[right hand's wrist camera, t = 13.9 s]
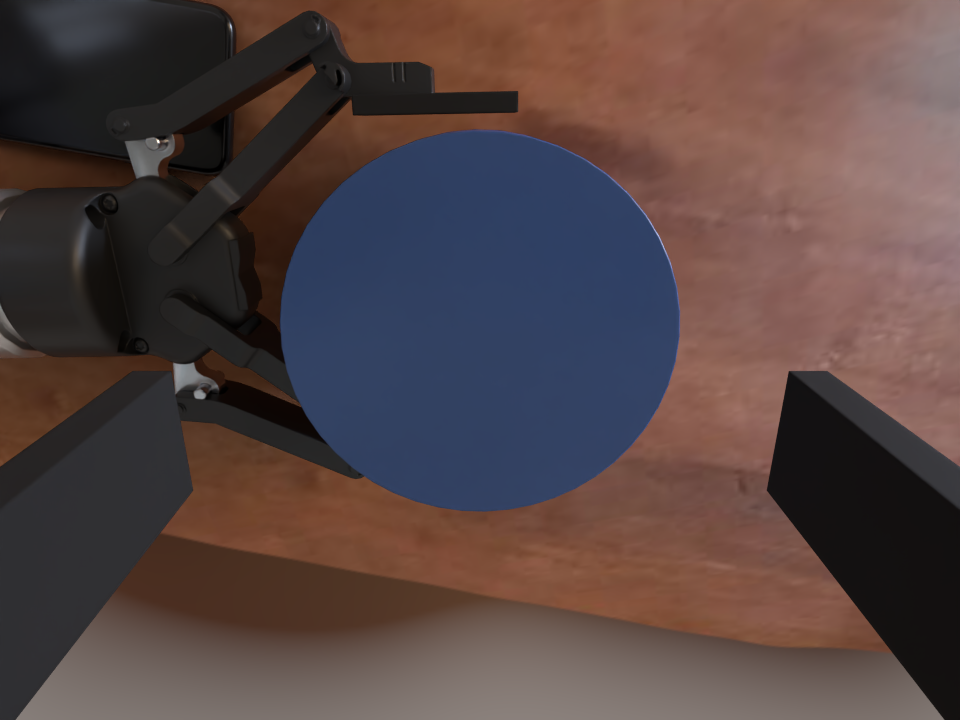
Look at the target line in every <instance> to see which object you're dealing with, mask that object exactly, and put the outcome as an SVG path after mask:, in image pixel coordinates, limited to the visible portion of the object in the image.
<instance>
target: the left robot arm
mask: <svg viewBox="0 0 960 720" xmlns="http://www.w3.org/2000/svg"><path fill="white" fill-rule="evenodd" d="M312 63H313V65H314V67H315V70H316V72H317V73H316V74H315V75H314V76H313V77H312V78H311V79H310V80H309V81H308V82H307V83H306V84H305V85H304V86H303V88H302V89H301V90H300V91H299V92H298V93H297V94H296V95H295V96H294V97H293V98H292V99H291V100H290V101H289V102H288V103H287V104H286V105H285V106H284V107H283V108H282V110H281V111H280V112H279V113H278V114H277V115H276V116H275V117H274V118H273V119H272V120H271V121H270V122H269V123H268V124H267V125H266V126H265V127H264V128H263V129H262V130H261V132H260V133H259V134H258V135H257V136H256V137H255V138H254V139H253V140H252V141H251V142H250V143H249V144H248V145H247V146H246V147H245V148H244V149H243V150H242V151H241V152H240V154H239V155H238V156H237V157H236V158H235V159H234V160H233V161H232V162H231V163H230V164H229V165H228V166H227V167H226V168H225V169H224V170H223V171H222V172H221V173H220V174H219V175H218V176H217V177H216V178H214V179H213V180H211V181H210V182H209V183H207V184H206V185H205V186H204V187H203V188H202V189H201V190H200V191H199V192H198V191H197V190H195V189H194V188H192V187H191V186H189V185H188V184H186V183H184V182H183V181H181V180H180V179H178V178H177V177H175V176H172V175H169V174H168V163H169V161H170V160H171V159H172V158H173V157H175V156H177V155H179V154H180V153H181V152H182V151H183V149H184V138H183V135H187V134H191V133H194V132H197V131H200V130H202V129H204V128H206V127H208V126H210V125H211V124H213V123H215V122H216V121H218V120H220V119H221V118H223V117H224V116H226V115H228V114H229V113H231V112H233V111H234V110H236V109H238V108H239V107H241V106H243V105H244V104H246V103H248V102H249V101H251V100H253V99H254V98H256V97H258V96H259V95H261V94H263V93H264V92H266V91H268V90H269V89H271V88H272V87H274V86H276V85H277V84H279V83H281V82H282V81H284V80H286V79H287V78H289V77H291V76H292V75H294V74H296V73H297V72H299V71H301V70H302V69H304V68H306V67H307V66H309V65H311V64H312ZM351 99H352V109H353V115H363V116H368V115H419V114H469V113H515V112H518V91H502V92H452V93H435V83H434V69H433V68H432V67H430V66H427V65H425V64H422V63H420V62H395V63H355V62H353V61H352V60H351V59H350V58H349V56H348V54H347V53H346V50H345V48H344V45H343V43H342V41H341V38H340V32H339V29H338V28H337V26H336V25H335V24H334V23H333V22H331V21H330V20H328V19H327V18H325V17H324V16H322V15H320V14H319V13H317V12H315V11H306V12H303V13H302V14H300V15H298V16H297V17H295V18H294V19H292V20H290V21H289V22H287V23H285V24H284V25H282V26H281V27H279V28H277V29H276V30H274V31H273V32H271V33H269V34H268V35H266V36H265V37H263V38H261V39H260V40H258V41H257V42H255V43H253V44H252V45H250V46H248V47H247V48H245V49H244V50H242V51H240V52H239V53H237V54H236V55H234V56H232V57H231V58H229V59H228V60H226V61H224V62H223V63H221V64H220V65H218V66H216V67H215V68H213V69H212V70H210V71H208V72H207V73H205V74H203V75H202V76H200V77H199V78H197V79H195V80H194V81H192V82H191V83H189V84H187V85H186V86H184V87H183V88H181V89H179V90H178V91H176V92H175V93H173V94H171V95H170V96H168V97H166V98H165V99H163V100H162V101H160V102H158V103H157V104H150V105H143V106H136V107H130V108H123V109H116V110H113V111H111V112H110V113H109V114H108V115H107V118H106V127H107V129H108V131H109V133H110V134H111V135H112V136H113V137H114V138H115V139H117V140H119V141H125V144H126V147H127V150H128V154H129V157H130V160H131V163H132V166H133V169H134V173H135V176H136V179H135V180H134V181H133V182H131V183H130V184H128V185H126V186H121V187H75V188H37V189H33V190H29V191H24V190H21V189H0V358H39V357H43V356H46V355H49V356H53V357H102V356H136V355H154V356H158V357H161V358H164V359H166V360H168V361H170V362H173V368H174V381H175V395H176V400H177V406H178V411H179V417H180V420H181V421H192V422H204V423H216V424H218V425H220V426H223V427H225V428H228V429H230V430H233V431H235V432H238V433H240V434H243V435H245V436H248V437H250V438H253V439H255V440H258V441H260V442H263V443H265V444H268V445H270V446H273V447H275V448H278V449H280V450H283V451H285V452H288V453H290V454H293V455H295V456H298V457H300V458H303V459H305V460H308V461H310V462H313V463H315V464H318V465H320V466H323V467H325V468H328V469H330V470H333V471H335V472H338V473H340V474H343V475H345V476H348V477H350V478H354V479H359V478H362V477H364V475H362V474H361V473H359V472H358V471H356V470H355V469H353V468H352V467H351V466H350V465H349V464H348V463H347V462H345V461H344V460H343V459H342V458H341V457H340V456H339V455H337V454H336V453H335V452H334V451H333V449H332V448H331V447H330V446H329V445H328V444H327V443H326V442H325V440H324V439H323V438H322V437H321V436H320V435H319V433H318V432H317V430H316V429H315V427H314V426H313V425H312V423H311V422H310V420H309V419H308V417H307V416H306V414H305V412H304V410H303V408H302V407H299V406H297V405H294V404H292V403H289V402H287V401H285V400H282V399H280V398H277V397H275V396H272V395H270V394H268V393H265V392H263V391H260V390H258V389H256V388H253V387H251V386H248V385H245V384H242V383H239V382H234V381H229V380H225V375H224V373H223V372H221V371H215V370H212V369H210V368H208V367H207V366H206V365H205V364H204V362H203V360H202V357H203V356H204V355H206V354H207V353H208V352H209V351H211V350H214V351H215V352H217V353H218V354H219V355H221V356H222V357H224V358H225V359H227V360H228V361H230V362H231V363H233V364H234V365H236V366H238V367H241V368H249V369H251V370H253V371H254V372H255V373H257V374H258V375H260V376H261V377H263V378H264V379H266V380H267V381H269V382H270V383H271V384H273V385H274V386H276V387H277V388H279V389H280V390H282V391H283V392H285V393H286V394H288V395H289V396H290V397H292V398H293V399H295V400H296V401H298V402H299V400H298V399H297V397H296V395H295V392H294V389H293V387H292V384H291V381H290V378H289V375H288V373H287V369H286V364H285V360H284V355H283V351H282V344H281V333H280V332H279V331H278V329H277V327H276V325H275V324H274V323H273V322H271V321H270V320H269V319H267V318H266V317H264V316H263V315H262V314H260V313H259V312H257V311H256V309H257V307H258V303H259V301H260V300H261V299H262V291H261V284H260V281H259V278H258V276H257V273H256V271H255V269H254V257H255V242H254V235H253V232H251V233H249V232H248V230H247V228H246V226H245V225H244V224H243V222H242V221H241V220H240V219H239V218H238V216H239V215H240V214H241V213H242V212H243V211H244V210H245V209H246V208H247V207H248V206H249V205H250V204H251V203H252V202H253V201H254V200H255V198H256V197H257V196H258V195H259V192H260V191H261V190H262V189H263V188H264V187H265V186H266V185H267V184H268V183H269V182H270V181H271V180H272V179H273V178H274V177H275V176H276V175H277V174H278V173H279V172H280V171H281V170H282V169H283V168H284V167H285V166H286V165H287V164H288V163H289V162H290V161H291V160H292V159H293V158H294V157H295V156H296V155H297V154H298V153H299V151H300V150H301V149H302V148H303V147H304V146H305V145H306V144H307V143H308V142H309V141H310V140H311V139H312V138H313V137H314V136H315V135H316V134H317V133H318V132H319V131H320V130H321V129H322V128H323V127H324V126H325V125H326V124H327V123H328V122H329V121H330V120H331V119H332V118H333V117H334V116H335V115H336V114H337V113H338V112H339V111H340V110H341V109H342V108H343V107H344V106H345V105H346V104H347V103H348V102H349V101H350V100H351ZM237 330H238V331H239V332H238V331H237ZM241 333H242V334H241ZM299 403H300V402H299Z"/></svg>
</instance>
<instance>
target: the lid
mask: <svg viewBox="0 0 960 720" xmlns="http://www.w3.org/2000/svg"><path fill="white" fill-rule="evenodd" d="M280 331H281V344H282V351H283V355H284V360H285V364H286V369H287V373H288V375H289V378H290V381H291V384H292V387H293V389H294V392H295V395H296V397H297V399H298V400H299V402H300V404H301V406H302V408H303V410H304V412H305V414H306V416H307V417H308V419H309V420H310V422H311V423H312V425H313V426H314V427H315V429H316V430H317V432H318V433H319V435H320V436H321V437H322V438H323V439H324V440H325V442H326V443H327V444H328V445H329V446H330V447H331V448H332V449H333V451H334V452H335V453H336V454H337V455H339V456H340V457H341V458H342V459H343V460H344V461H345V462H347V463H348V464H349V465H350V466H351V467H352V468H353V469H355V470H356V471H358V472H359V473H361V474H362V475H364V476H365V477H366V478H368V479H369V480H371V481H372V482H374V483H376V484H378V485H380V486H382V487H383V488H385V489H387V490H389V491H391V492H393V493H395V494H398V495H400V496H403V497H406V498H408V499H411V500H413V501H416V502H420V503H424V504H428V505H431V506H435V507H440V508H446V509H453V510H460V511H497V510H509V509H514V508H519V507H524V506H529V505H533V504H536V503H540V502H543V501H546V500H549V499H552V498H555V497H557V496H560V495H562V494H564V493H566V492H569V491H571V490H573V489H575V488H577V487H579V486H580V485H582V484H584V483H585V482H587V481H589V480H591V479H592V478H594V477H596V476H597V475H598V474H600V473H601V472H602V471H603V470H605V469H606V468H607V467H609V466H610V465H611V464H613V463H614V462H615V461H616V460H617V459H618V458H619V457H620V456H621V455H622V454H623V453H624V452H625V451H626V450H627V449H628V448H629V447H630V446H631V445H632V444H633V443H634V442H635V440H636V439H637V438H638V437H639V435H640V434H641V433H642V432H643V430H644V429H645V428H646V427H647V425H648V423H649V422H650V420H651V418H652V417H653V415H654V414H655V412H656V410H657V409H658V407H659V405H660V403H661V400H662V398H663V396H664V394H665V391H666V389H667V387H668V385H669V382H670V378H671V375H672V372H673V368H674V365H675V361H676V355H677V349H678V343H679V333H680V308H679V300H678V292H677V285H676V282H675V278H674V274H673V270H672V267H671V263H670V260H669V258H668V255H667V253H666V251H665V248H664V246H663V244H662V241H661V239H660V237H659V235H658V234H657V232H656V230H655V229H654V227H653V225H652V224H651V222H650V220H649V219H648V217H647V215H646V214H645V213H644V211H643V210H642V209H641V208H640V207H639V205H638V204H637V203H636V202H635V201H634V199H633V198H632V197H631V196H630V194H629V193H628V192H627V191H625V190H624V189H623V188H622V187H621V186H620V185H619V184H618V183H617V182H616V181H615V180H613V179H612V178H611V177H610V176H609V175H608V174H606V173H605V172H604V171H602V170H601V169H599V168H598V167H596V166H595V165H593V164H592V163H590V162H589V161H587V160H586V159H584V158H582V157H580V156H578V155H576V154H574V153H572V152H570V151H568V150H566V149H564V148H562V147H560V146H558V145H555V144H552V143H549V142H545V141H542V140H539V139H536V138H533V137H530V136H527V135H523V134H517V133H512V132H506V131H501V130H477V129H473V130H463V131H453V132H446V133H442V134H438V135H434V136H430V137H426V138H422V139H419V140H416V141H413V142H411V143H408V144H406V145H403V146H401V147H398V148H396V149H393V150H391V151H389V152H387V153H385V154H383V155H382V156H380V157H378V158H376V159H375V160H373V161H371V162H369V163H368V164H366V165H364V166H363V167H362V168H361V169H359V170H358V171H357V172H355V173H354V174H353V175H352V176H350V177H349V178H348V179H346V180H345V181H344V182H343V183H342V184H341V185H340V186H339V187H338V188H337V189H336V190H335V191H334V192H333V193H332V194H331V195H330V196H329V197H328V198H327V199H326V200H325V201H324V202H323V204H322V205H321V206H320V208H319V209H318V210H317V212H316V213H315V215H314V216H313V217H312V219H311V220H310V222H309V223H308V224H307V226H306V228H305V230H304V232H303V234H302V236H301V238H300V240H299V241H298V243H297V245H296V247H295V250H294V253H293V255H292V258H291V261H290V264H289V267H288V269H287V272H286V277H285V282H284V287H283V292H282V297H281V312H280Z"/></svg>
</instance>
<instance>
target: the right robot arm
mask: <svg viewBox="0 0 960 720" xmlns="http://www.w3.org/2000/svg"><path fill="white" fill-rule="evenodd" d="M192 491H193V487H192V482H191V476H190V471H189V465H188V460H187V455H186V449H185V444H184V438H183V433H182V427H181V422H180V417H179V411H178V406H177V400H176V395H175V390H174V384H173V379H172V373H171V371H132V372H131V373H129V374H128V375H127V376H125V377H124V378H123V379H121V380H120V381H118V382H117V383H116V384H114V385H113V386H111V387H110V388H109V389H107V390H106V391H105V392H103V393H102V394H100V395H99V396H98V397H96V398H95V399H94V400H92V401H91V402H89V403H88V404H87V405H85V406H84V407H82V408H81V409H80V410H78V411H77V412H76V413H74V414H73V415H71V416H70V417H69V418H67V419H66V420H64V421H63V422H62V423H60V424H59V425H58V426H56V427H55V428H53V429H52V430H51V431H49V432H48V433H46V434H45V435H44V436H42V437H41V438H40V439H38V440H37V441H35V442H34V443H33V444H31V445H30V446H28V447H27V448H26V449H24V450H23V451H22V452H20V453H19V454H17V455H16V456H15V457H13V458H12V459H11V460H9V461H8V462H6V463H5V464H4V465H2V466H1V467H0V720H16V718H17V717H18V716H19V715H20V713H21V712H22V711H23V709H24V708H25V707H26V705H27V704H28V703H29V702H30V700H31V699H32V698H33V696H34V695H35V694H36V693H37V691H38V690H39V689H40V687H41V686H42V685H43V683H44V682H45V681H46V680H47V678H48V677H49V676H50V675H51V673H52V672H53V671H54V669H55V668H56V667H57V665H58V664H59V663H60V662H61V660H62V659H63V658H64V656H65V655H66V654H67V653H68V651H69V650H70V649H71V647H72V646H73V645H74V643H75V642H76V641H77V640H78V638H79V637H80V636H81V634H82V633H83V632H84V631H85V629H86V628H87V627H88V625H89V624H90V623H91V622H92V620H93V619H94V618H95V616H96V615H97V614H98V613H99V611H100V610H101V609H102V607H103V606H104V605H105V603H106V602H107V601H108V600H109V598H110V597H111V596H112V594H113V593H114V592H115V591H116V589H117V588H118V587H119V585H120V584H121V583H122V581H123V580H124V579H125V578H126V576H127V575H128V574H129V573H130V571H131V570H132V569H133V567H134V566H135V565H136V563H137V562H138V561H139V560H140V558H141V557H142V556H143V554H144V553H145V552H146V551H147V549H148V548H149V547H150V545H151V544H152V543H153V542H154V540H155V539H156V538H157V536H158V535H159V534H160V533H161V531H162V530H163V529H164V527H165V526H166V525H167V523H168V522H169V521H170V520H171V518H172V517H173V516H174V514H175V513H176V512H177V511H178V509H179V508H180V507H181V505H182V504H183V503H184V502H185V500H186V499H187V498H188V496H189V495H190V494H191V492H192ZM767 491H768V492H769V494H770V495H771V496H772V498H773V499H774V500H775V502H776V503H777V504H778V505H779V507H780V508H781V509H782V511H783V512H784V513H785V514H786V516H787V517H788V518H789V520H790V521H791V522H792V523H793V525H794V526H795V527H796V529H797V530H798V531H799V533H800V534H801V535H802V536H803V538H804V539H805V540H806V542H807V543H808V544H809V545H810V547H811V548H812V549H813V551H814V552H815V553H816V554H817V556H818V557H819V558H820V560H821V561H822V562H823V563H824V565H825V566H826V567H827V569H828V570H829V571H830V573H831V574H832V575H833V576H834V578H835V579H836V580H837V582H838V583H839V584H840V585H841V587H842V588H843V589H844V591H845V592H846V593H847V594H848V596H849V597H850V598H851V600H852V601H853V602H854V604H855V605H856V606H857V607H858V609H859V610H860V611H861V613H862V614H863V615H864V616H865V618H866V619H867V620H868V622H869V623H870V624H871V625H872V627H873V628H874V629H875V631H876V632H877V633H878V634H879V636H880V637H881V638H882V640H883V641H884V642H885V644H886V645H887V646H888V647H889V649H890V650H891V651H892V653H893V654H894V655H895V656H896V658H897V659H898V660H899V662H900V663H901V664H902V665H903V667H904V668H905V669H906V671H907V672H908V673H909V675H910V676H911V677H912V678H913V680H914V681H915V682H916V684H917V685H918V686H919V687H920V689H921V690H922V691H923V693H924V694H925V695H926V696H927V698H928V699H929V700H930V702H931V703H932V704H933V705H934V707H935V708H936V709H937V711H938V712H939V713H940V715H941V716H942V717H943V718H944V720H960V467H959V466H958V465H956V464H955V463H954V462H952V461H951V460H949V459H948V458H947V457H945V456H944V455H943V454H941V453H940V452H938V451H937V450H936V449H934V448H933V447H932V446H930V445H929V444H927V443H926V442H925V441H923V440H922V439H920V438H919V437H918V436H916V435H915V434H914V433H912V432H911V431H909V430H908V429H907V428H905V427H904V426H902V425H901V424H900V423H898V422H897V421H896V420H894V419H893V418H891V417H890V416H889V415H887V414H886V413H884V412H883V411H882V410H880V409H879V408H878V407H876V406H875V405H873V404H872V403H871V402H869V401H868V400H866V399H865V398H864V397H862V396H861V395H860V394H858V393H857V392H855V391H854V390H853V389H851V388H850V387H849V386H847V385H846V384H844V383H843V382H842V381H840V380H839V379H837V378H836V377H835V376H833V375H832V374H831V373H829V372H828V371H789V373H788V379H787V384H786V390H785V395H784V400H783V406H782V411H781V417H780V422H779V427H778V433H777V438H776V444H775V449H774V454H773V460H772V465H771V471H770V476H769V482H768V487H767Z"/></svg>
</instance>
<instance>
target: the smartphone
mask: <svg viewBox="0 0 960 720" xmlns="http://www.w3.org/2000/svg"><path fill="white" fill-rule="evenodd" d="M234 55H236V28H235V25H234V22H233V20H232V18H231V16H230V15H229V14H228V13H227V12H226V11H225V10H223V9H222V8H220V7H218V6H215V5H212V4H208V3H203V2H198V1H192V0H0V140H2V141H8V142H14V143H20V144H26V145H31V146H37V147H43V148H49V149H55V150H61V151H66V152H72V153H78V154H84V155H90V156H95V157H101V158H107V159H113V160H119V161H124V162H126V163H131V160H130V157H129V154H128V150H127V147H126V144H125V141H119V140H117V139H115V138H114V137H113V136H112V135H111V134H110V133H109V131H108V129H107V127H106V118H107V115H108V114H109V113H110V112H111V111H113V110H116V109H123V108H130V107H136V106H143V105H150V104H157V103H158V102H160V101H162V100H163V99H165V98H166V97H168V96H170V95H171V94H173V93H175V92H176V91H178V90H179V89H181V88H183V87H184V86H186V85H187V84H189V83H191V82H192V81H194V80H195V79H197V78H199V77H200V76H202V75H203V74H205V73H207V72H208V71H210V70H212V69H213V68H215V67H216V66H218V65H220V64H221V63H223V62H224V61H226V60H228V59H229V58H231V57H232V56H234ZM233 135H234V111H233V112H231V113H229V114H228V115H226V116H224V117H223V118H221V119H220V120H218V121H216V122H215V123H213V124H211V125H210V126H208V127H206V128H204V129H202V130H200V131H197V132H194V133H191V134H187V135H183V138H184V149H183V151H182V152H181V153H180V154H179V155H177V156H175V157H173V158H172V159H171V160H170V161H169V163H168V169H171V170H177V171H183V172H189V173H194V174H200V175H207V176H217V175H219V174H220V173H221V172H222V171H223V170H224V169H225V168H226V167H227V166H228V165H229V164H230V163H231V162H232V158H233Z"/></svg>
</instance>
